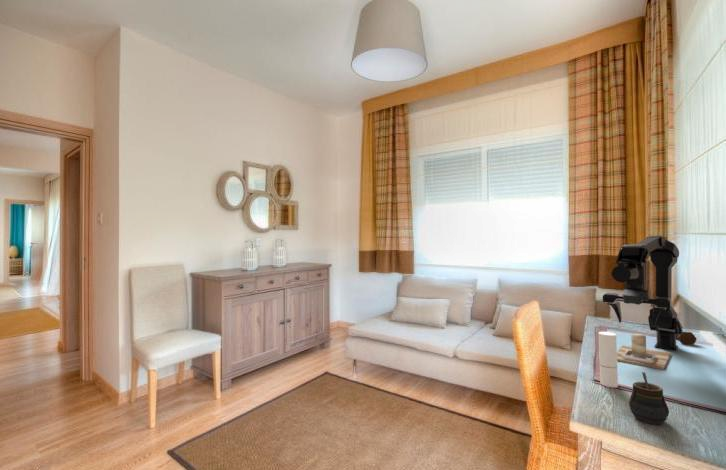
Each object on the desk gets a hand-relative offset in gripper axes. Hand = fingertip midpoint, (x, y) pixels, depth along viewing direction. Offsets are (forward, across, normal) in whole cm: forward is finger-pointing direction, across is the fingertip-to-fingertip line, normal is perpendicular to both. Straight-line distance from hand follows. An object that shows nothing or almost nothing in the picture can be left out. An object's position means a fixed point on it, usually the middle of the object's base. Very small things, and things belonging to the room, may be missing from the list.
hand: (636, 324), depth 122 cm
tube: (+12, -3, -31) cm, 34 cm away
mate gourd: (+12, +8, -48) cm, 50 cm away
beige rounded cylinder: (+12, 0, -1) cm, 12 cm away
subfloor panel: (+12, 0, +4) cm, 13 cm away
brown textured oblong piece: (+13, +9, +41) cm, 43 cm away
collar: (+12, 0, -1) cm, 12 cm away
